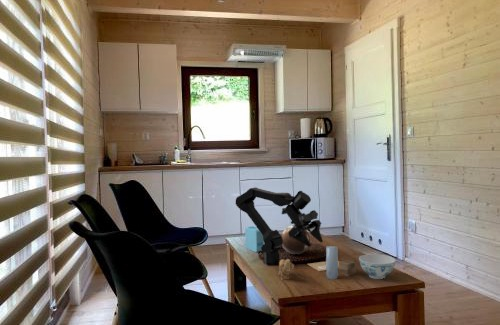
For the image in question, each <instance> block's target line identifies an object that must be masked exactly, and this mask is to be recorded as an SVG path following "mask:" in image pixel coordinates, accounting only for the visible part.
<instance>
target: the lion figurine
mask: <svg viewBox="0 0 500 325" xmlns="http://www.w3.org/2000/svg"><path fill="white" fill-rule="evenodd" d="M294 267H295V264H294V263H293V262H291V260H290V259H289V258H287V259H280V262H279V264H278V274H277V275H278V276H280V280H281V281H284V274H286V275H285V279H287V280H289V279H290V277H289V273H290V271H291V270H293V269H294Z"/></svg>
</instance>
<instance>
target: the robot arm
mask: <svg viewBox="0 0 500 325" xmlns="http://www.w3.org/2000/svg"><path fill="white" fill-rule="evenodd" d="M256 198H258V199H263V200H267V201H270V202H272V203H273V204H274V205H275V206H278V207H283V208H281V209H282V210H281V215H287V216H288V218H289V219H290V224H291V225H295V226H294V227H293V228H292V229H291V230H290V231H289V232H288V235H289V236H290V238H293V237H294V238H293V239H296V240H298V241H300V242H302V243H304V244H305V245H307V246H308V248H310V247H311V246H312V243H310V242H311V241H310V242H309V240H308V239H307V237H306V235H305V230H306V231H307V232H308V233H309V235H311V236H312V237H313V238H315V239H316V240H317V241H318V242H320V243H323V242H324V241H323V237H322V235H321V231H320V229H321V227H322V226H321V225H322V222H321V221H320V219H318V217H319V213H318V212H317V211H316V210H315V209H314V210H310V211H309V213H305V212H303V213H302V210H304V209H305V208H306V207H307V205H309V204H310V202H311V201H312V199H311V197H310V195H308V194H307V193H305V192H303V191H302V190H299V191H298V192H297V193H296V194H295V195H294V196H293V195H291V193H289V192H274V191H269V190H267V189H262V188H258V187H251V188H248V190H246V191H245V192H243V193H242V194H241V195H239V196H236V199H235V205H236V206H237V208H238V209H239V210H240V211H242V212H244V213H245V214H247V216H248V217H249V218H250V220H251V222H252V223H253V224H254V225H255V227H257V228H258V229H259V231H260V232H261V234H262V235H263V241H264V245H263V246H262V247H261V250H262V251H261V252H262V253H263V256H264V257H263V261H262V263H263V264H265V265H266V266H276V265H279V262H280V260H281V259H280V253H279V251H280V250H281V248H282V247H283V246H282V244H283V239H282V236H281V235H282V234H280V232H279V230H278V229H275V230H273V229H272V228H270V226H269V225H268V224H267V222H266V221H265V219H264V217H263V216H261V214H260V212H259V211H258V210H257V209H256V207H255V202H254V201H255V200H256ZM284 206H286V207H284Z"/></svg>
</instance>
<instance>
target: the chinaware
mask: <svg viewBox="0 0 500 325" xmlns="http://www.w3.org/2000/svg"><path fill="white" fill-rule="evenodd" d="M396 261H397V260H396V258H394V256H393V257H392V256H390V255H386V254H378V253H370V254H364V255H359V257H358V262H359V265H360V267H361V269H362V270H363V271H364V272H365V273H366V274H367V275H368V276H369V278H371V279H373V280H383V278H384V279H385V278H386V277H387V275H389V274H390V273H391V272H392V271H393V270H394V267H395V265H396V263H397V262H396Z"/></svg>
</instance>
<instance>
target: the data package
mask: <svg viewBox="0 0 500 325" xmlns="http://www.w3.org/2000/svg"><path fill="white" fill-rule="evenodd" d="M244 235H245V236H244V237H245V240H244V243H245V249H247V250H249V251H252V252H254V253H258V252H259V253H260V252H262V250H261V247H262V246H263V245H264V244H265V243H264V241H263V235H262V234H261V232H260V231H259V229H258V228H257V227H256V226H253V225H251V226H246V227H245V228H244Z"/></svg>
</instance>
